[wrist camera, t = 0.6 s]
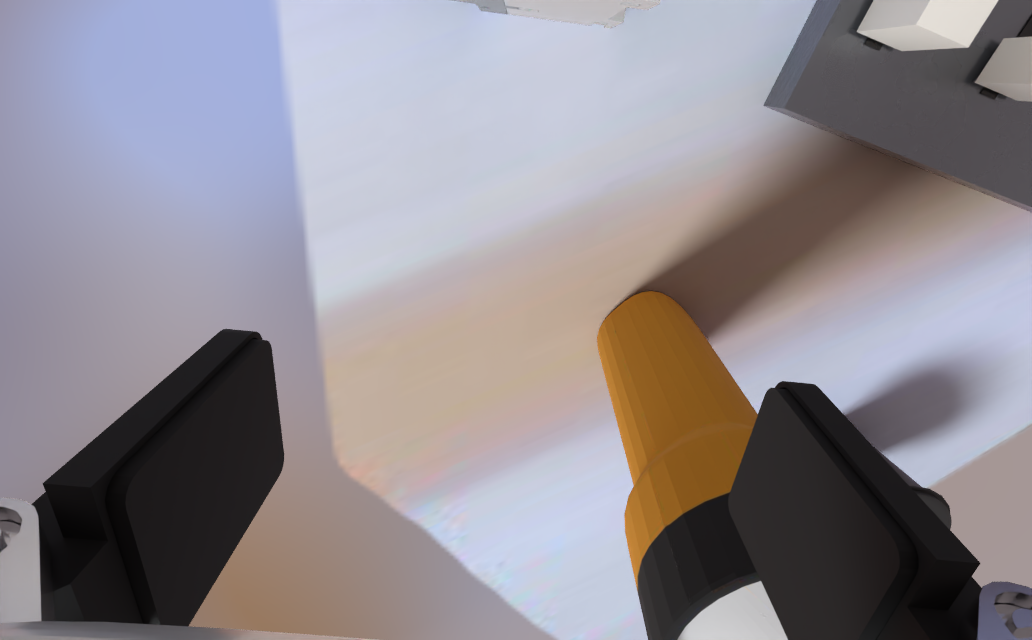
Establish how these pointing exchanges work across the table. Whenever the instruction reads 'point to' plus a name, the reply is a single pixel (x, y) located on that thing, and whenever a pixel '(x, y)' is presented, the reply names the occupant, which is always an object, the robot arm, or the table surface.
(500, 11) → the circuit breaker
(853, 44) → the grey slider panel
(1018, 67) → the block
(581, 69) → the table surface
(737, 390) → the flashlight
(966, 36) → the block
